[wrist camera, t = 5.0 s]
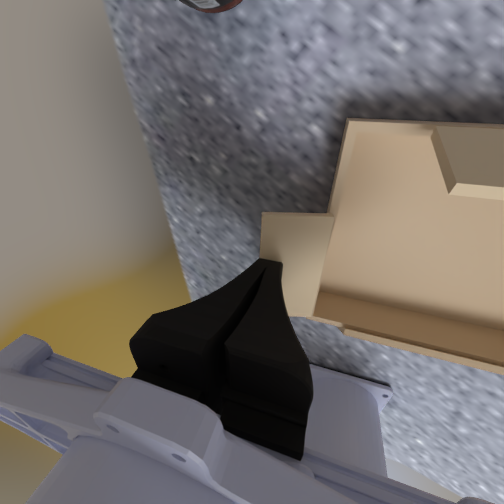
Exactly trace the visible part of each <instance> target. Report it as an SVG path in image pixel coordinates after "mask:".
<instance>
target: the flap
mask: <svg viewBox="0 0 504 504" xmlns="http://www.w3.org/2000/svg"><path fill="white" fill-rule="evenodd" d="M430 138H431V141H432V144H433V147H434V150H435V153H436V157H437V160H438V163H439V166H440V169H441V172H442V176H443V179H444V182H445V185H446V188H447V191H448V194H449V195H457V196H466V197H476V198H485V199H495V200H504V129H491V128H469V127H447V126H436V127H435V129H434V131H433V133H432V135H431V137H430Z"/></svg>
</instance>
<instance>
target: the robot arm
mask: <svg viewBox="0 0 504 504" xmlns="http://www.w3.org/2000/svg"><path fill="white" fill-rule="evenodd" d="M282 271H283V263H282V262H278V261H272V260H267V259H262V258H259V259H258V260H257V261H256V262H254V263H253V264H252V265H251V266H250V267H249V268H247V269H246V270H245V271H244V272H242V273H241V274H240V275H239V276H237V277H236V278H235V279H233V280H232V281H230V282H229V283H227V284H226V285H224V286H223V287H221V288H220V289H218V290H216V291H214V292H213V293H211V294H209V295H207V296H204V297H202V298H200V299H198V300H196V301H193V302H191V303H188V304H186V305H183V306H180V307H177V308H174V309H170V310H167V311H163V312H160V313H156V314H153V315H152V316H151V317H150V318H149V319H148V320H147V321H146V322H145V323H144V324H143V325H142V327H141V328H140V329H139V330H138V331H137V332H136V334H135V335H134V336H133V337H132V338H131V339H130V343H129V345H130V350H131V353H132V355H133V358H134V360H135V362H136V365H137V367H138V369H137V370H136V371H135V373H134V374H133V375H132V377H131V378H130V377H127V378H124V379H122V378H120V377H117V376H114V375H111V374H109V373H106V372H104V371H101V370H98V369H96V368H93V367H90V366H88V365H85V364H82V363H80V362H77V361H74V360H72V359H69V358H66V357H64V356H61V355H58V354H55V353H53V350H52V349H51V347H50V346H49V345H48V344H47V343H46V342H45V341H43V340H41V339H38V338H36V337H33V336H30V335H27V334H23V335H22V336H20V337H19V338H18V339H16V340H15V341H14V342H12V343H11V344H9V345H8V346H7V347H5V348H4V349H2V350H1V351H0V420H1V421H3V422H5V423H7V424H9V425H10V426H12V427H14V428H16V429H18V430H20V431H22V432H24V433H25V434H27V435H29V436H31V437H32V438H34V439H36V440H38V441H40V442H41V443H43V444H45V445H47V446H48V447H50V448H52V449H54V450H55V451H57V452H59V453H61V454H62V455H63V456H62V457H61V458H60V460H59V461H58V462H57V463H56V465H55V466H54V467H53V469H52V470H51V471H50V472H49V474H48V475H47V476H46V477H45V479H44V480H43V481H42V483H41V484H40V485H39V486H38V488H37V489H36V490H35V491H34V493H33V494H32V495H31V497H30V498H29V499H28V501H27V502H26V503H25V504H456V503H454V502H451V501H448V500H446V499H443V498H440V497H438V496H435V495H432V494H430V493H427V492H424V491H421V490H419V489H416V488H414V487H411V486H408V485H406V484H403V483H400V482H398V481H395V480H392V479H389V478H388V477H387V470H386V462H385V455H384V448H383V440H382V433H381V425H380V418H379V414H380V413H381V411H382V410H383V408H384V407H385V405H386V404H387V402H388V401H389V400H390V398H391V397H392V395H393V390H392V388H390V387H388V386H385V385H381V384H378V383H374V382H371V381H367V380H364V379H360V378H357V377H353V376H350V375H347V374H343V373H340V372H336V371H333V370H329V369H326V368H322V367H319V366H315V365H312V364H309V360H308V357H307V356H306V354H305V352H304V350H303V348H302V346H301V345H300V343H299V340H298V338H297V336H296V334H295V332H294V329H293V327H292V324H291V322H290V319H289V316H288V313H287V309H286V305H285V301H284V296H283V290H282V281H281V280H282ZM457 504H494V503H491V502H488V501H485V500H482V499H479V498H474V497H465V498H462V499H461V500H460V501H458V503H457Z"/></svg>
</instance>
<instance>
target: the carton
mask: <svg viewBox="0 0 504 504" xmlns="http://www.w3.org/2000/svg"><path fill="white" fill-rule="evenodd" d="M436 126H447V127H469V128H491V129H504V124H486V123H462V122H438V121H414V120H390V119H366V118H347V119H346V124H345V128H344V133H343V138H342V142H341V147H340V152H339V157H338V161H337V166H336V171H335V175H334V180H333V185H332V190H331V194H330V199H329V204H328V208H327V213H330V214H333V215H334V222H333V226H332V230H331V234H330V239H329V243H328V247H327V251H326V256H325V260H324V264H323V268H322V273H321V277H320V281H319V285H318V290H317V294H316V298H315V302H314V307H313V311H312V315H311V317H306V319H310V320H314V321H318V322H322V323H326V324H330V325H334V326H337V328H338V329H339V330H340V331H341V332H342V333H343V334H344V335H346V336H350V337H354V338H358V339H362V340H366V341H370V342H374V343H378V344H382V345H386V346H390V347H394V348H398V349H402V350H406V351H410V352H414V353H418V354H422V355H426V356H430V357H434V358H438V359H442V360H446V361H450V362H454V363H458V364H462V365H466V366H470V367H474V368H478V369H481V370H485V371H489V372H493V373H497V374H501V375H504V200H495V199H485V198H476V197H466V196H457V195H449V194H448V191H447V188H446V185H445V182H444V179H443V176H442V172H441V169H440V166H439V163H438V160H437V157H436V153H435V150H434V147H433V144H432V141H431V138H430V137H431V135H432V133H433V131H434V129H435V127H436Z"/></svg>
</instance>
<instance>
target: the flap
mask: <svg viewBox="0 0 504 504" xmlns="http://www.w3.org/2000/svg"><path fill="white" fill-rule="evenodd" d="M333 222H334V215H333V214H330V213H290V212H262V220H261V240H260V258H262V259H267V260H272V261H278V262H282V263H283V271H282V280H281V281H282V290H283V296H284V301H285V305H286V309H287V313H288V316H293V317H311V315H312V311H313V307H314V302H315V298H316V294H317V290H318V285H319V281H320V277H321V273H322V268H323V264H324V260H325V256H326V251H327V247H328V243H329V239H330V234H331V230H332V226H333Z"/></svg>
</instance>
